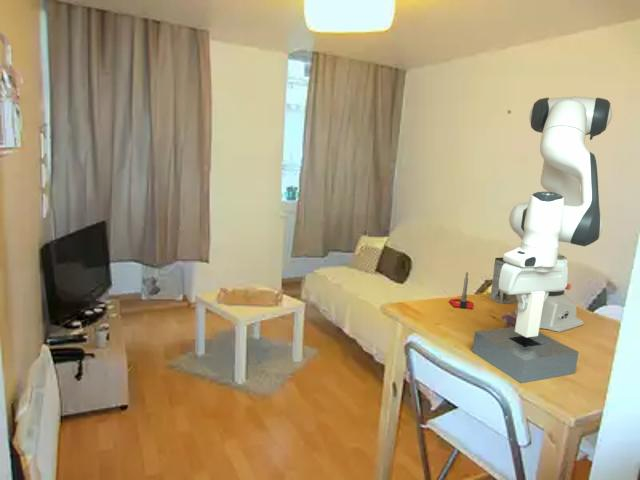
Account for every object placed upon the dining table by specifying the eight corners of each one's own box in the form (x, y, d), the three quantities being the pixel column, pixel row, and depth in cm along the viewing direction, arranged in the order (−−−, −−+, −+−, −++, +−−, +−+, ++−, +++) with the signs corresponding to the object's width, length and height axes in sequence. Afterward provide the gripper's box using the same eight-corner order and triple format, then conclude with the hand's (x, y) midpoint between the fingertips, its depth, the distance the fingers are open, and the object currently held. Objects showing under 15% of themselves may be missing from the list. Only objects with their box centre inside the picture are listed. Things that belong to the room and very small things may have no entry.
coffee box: (507, 296, 185) (513, 256, 182) (520, 302, 179) (527, 260, 176) (489, 298, 181) (495, 257, 178) (501, 304, 176) (507, 261, 172)
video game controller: (502, 331, 154) (497, 313, 152) (513, 323, 155) (508, 306, 153) (526, 343, 145) (522, 325, 143) (537, 335, 147) (533, 317, 144)
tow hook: (447, 300, 178) (450, 307, 169) (451, 266, 176) (454, 271, 167) (471, 303, 177) (475, 310, 168) (475, 268, 175) (480, 274, 166)
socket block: (522, 344, 140) (525, 325, 139) (574, 373, 124) (578, 351, 123) (472, 351, 133) (474, 331, 132) (521, 383, 117) (524, 360, 116)
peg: (526, 330, 129) (532, 287, 127) (537, 335, 126) (545, 291, 123) (514, 331, 128) (521, 288, 125) (526, 337, 124) (533, 292, 122)
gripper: (558, 252, 129) (550, 301, 132) (498, 254, 122) (491, 306, 124) (578, 257, 124) (569, 309, 126) (516, 260, 116) (508, 315, 119)
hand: (530, 307), depth 125 cm, fingers closed on peg, 4 cm apart
